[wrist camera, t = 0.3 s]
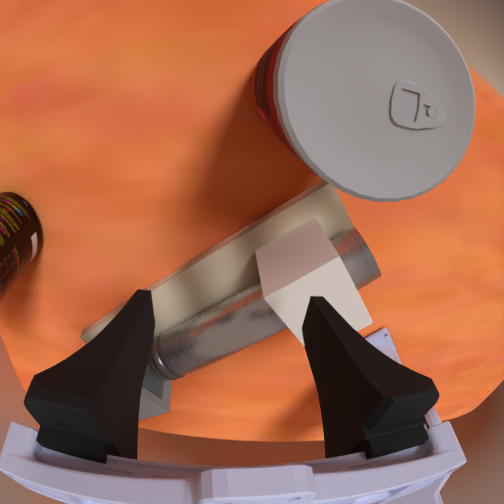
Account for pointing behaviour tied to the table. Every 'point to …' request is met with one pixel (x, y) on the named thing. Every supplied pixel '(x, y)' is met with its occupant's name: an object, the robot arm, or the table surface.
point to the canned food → (369, 97)
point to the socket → (154, 396)
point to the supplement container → (16, 238)
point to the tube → (243, 319)
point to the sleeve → (307, 277)
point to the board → (233, 261)
